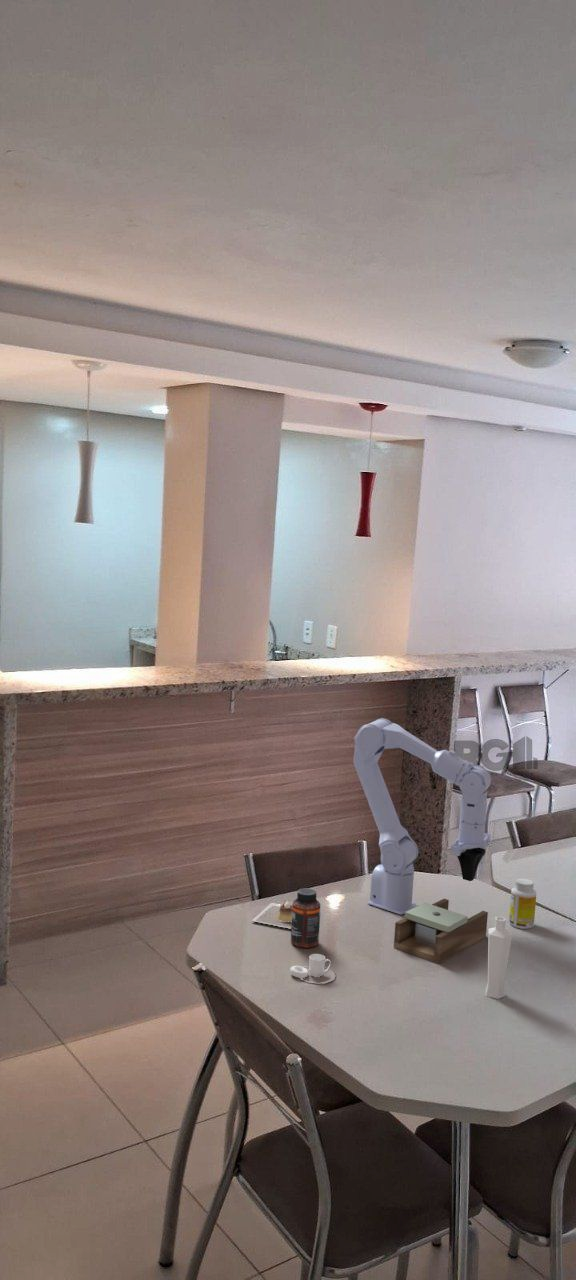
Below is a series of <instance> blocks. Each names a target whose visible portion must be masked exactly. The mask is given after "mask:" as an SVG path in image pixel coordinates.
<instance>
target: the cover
mask: <svg viewBox="0 0 576 1280" xmlns="http://www.w3.org/2000/svg"><path fill="white" fill-rule="evenodd" d="M404 918H406V919H409V920H412V921H415V922H418V923H421V924H424V925H427V926H430V927H433V928H436V929H439V930H442V931H445V932H450V931H452V930H454V929H456V928H458V927H460V926H461V925H463V924H465V923H467V920H468V916H467V915H465V914H462V913H458V912H455V911H453V910H449V909H448V910H446V909H443V908H440V907H437V906H434V905H432V904H431V903H427V902H423V903H422V904H419V906H417V907H415V908H413V909H411V910H408V911H406V912H405V913H404Z"/></svg>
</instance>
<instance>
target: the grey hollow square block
mask: <svg viewBox="0 0 576 1280" xmlns="http://www.w3.org/2000/svg"><path fill="white" fill-rule="evenodd" d="M442 932H444V931H442V930H439V929H436V928H433V927H430V926H427V925H424V924H421V923H418V922H417V923H416V927H415V942H418V943H421V944H424V945H427V946H429V947H432V948H435V939H436V936H437V935H439V934H441V933H442Z"/></svg>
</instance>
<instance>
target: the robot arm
mask: <svg viewBox="0 0 576 1280" xmlns="http://www.w3.org/2000/svg"><path fill="white" fill-rule="evenodd" d="M353 741H354V754H353V758H352V759H353V766H354V768H355V771H356V773H357V776H358V779H359V782H360V784H361V787H362V789H363V792H364V794H365V795H364V796H365V797H366V800H367V803H368V805H369V808H370V811H371V813H372V817H373V819H374V822H375V824H376V827H377V829H378V832H379V840H378V847H379V850H380V864H377V865H376V866H375V868H374V869H373V871H372V873H371V874H372V875H371V877H370V893H369V896H370V897H369V901H367V904H368V905H370V906H372V907H376V908H379V909H382V910H385V911H388V912H392V913H395V914H397V915H401V916H402V915H405V912H406V911H408V910H411V909H413V908H415V907H417V906H419V905H420V904H419V903H416V902H414V901H413V893H414V891H413V890H414V879H415V878H414V875H415V866H414V861H416V859H417V858H418V855H419V848H418V845H417V843H416V842H415V841H414V840H413V839H412V837H411V836H410V834H409V832H408V829H406V828H405V827H403V825H402V824H401V821H400V819H399V816H398V814H397V811H396V808H395V806H394V803H393V800H392V797H391V796H390V795H391V794H390V793H389V789H388V788H387V784H386V782H385V779H384V777H383V774H382V771H381V769H380V766H379V764H378V761H379V760H380V759H381V756H382V754H383V753H384V751H385V750H387V749H402V750H403V751H406V752H407V753H409V754H410V755H413V756H414V757H416V758H418V759H421V760H422V761H425V762H427V763H428V764H430V767H431V770H432V771H433V773H435V774H437V775H438V776H439V777H442V778H444V779H445V780H447V781H449V782H451V783H452V784H454V785H455V786H458V787H459V789H460V791H461V800H460V812H459V826H458V836H457V838H456V840H455V841H454V843H453V844H452V845H450V855H453V856H456V857H457V859H458V862H459V865H460V870H461V871H460V872H461V877H462V880H465V881H468V882H472V881H474V880H475V877H476V874H477V870H478V867H479V864H480V862H481V860H482V858H483V857H484V856H485V854H486V851H487V850H486V849H485V848H487V847H489V844H490V841H491V834H489V833H485V831H486V821H487V807H488V800H487V799H488V788H489V787H490V786H491V782H492V776H491V774H490V772H489V771H488V770H487V769H486V768H485V767H484V766H482V765H475V763H474V762H472V761H469V762H468V761H466V760H464V759H463V758H461V757H459V756H457V755H456V754H457V753H456V751H454V750H452V749H450V750H447V749H442V750H439V751H438V750H437V749H435V748H434V747H432V746H431V745H429V744H427V743H426V742H425V741H423V740H421V739H419V738H418V737H417V736H415V735H413V734H412V733H410V732H409V731H407V730H405V729H404V728H403V727H402V726H400V725H399V724H397V723H394V722H392V721H391V720H389V719H388V718H387V719H386V718H383V717H382V718H377V719H375V720H374V721H372V722H370V723H367V724H364V725H362V726H360V728H359V729H358V731H357V733H356V734H355V736H354V737H353Z"/></svg>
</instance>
